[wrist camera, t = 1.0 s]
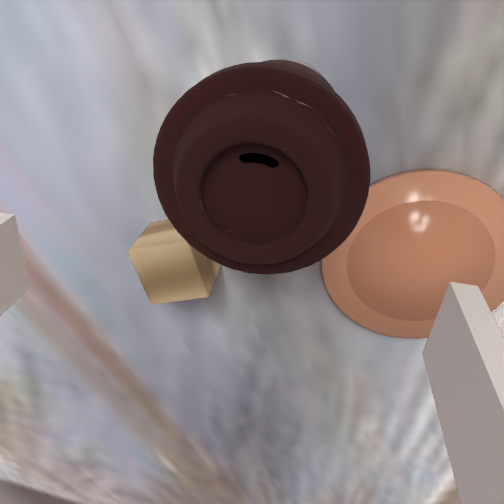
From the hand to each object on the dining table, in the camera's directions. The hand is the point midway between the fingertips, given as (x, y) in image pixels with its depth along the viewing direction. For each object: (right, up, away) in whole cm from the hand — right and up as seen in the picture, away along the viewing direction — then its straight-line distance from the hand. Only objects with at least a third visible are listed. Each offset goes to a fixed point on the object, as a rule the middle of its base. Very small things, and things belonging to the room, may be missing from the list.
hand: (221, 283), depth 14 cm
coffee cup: (+3, +11, +18) cm, 21 cm away
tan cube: (-5, +2, +25) cm, 25 cm away
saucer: (+14, 0, +22) cm, 26 cm away
